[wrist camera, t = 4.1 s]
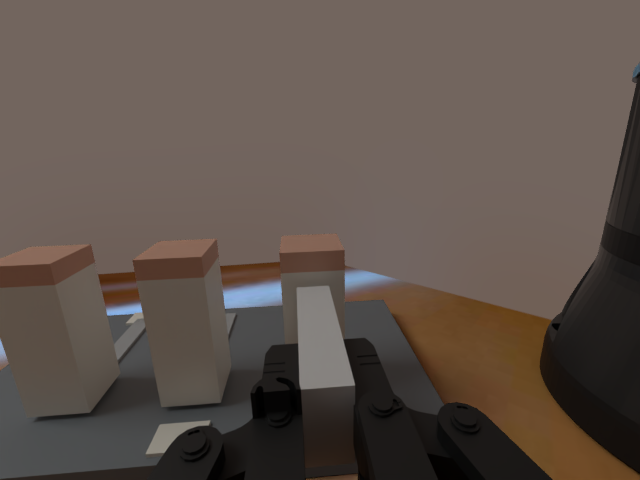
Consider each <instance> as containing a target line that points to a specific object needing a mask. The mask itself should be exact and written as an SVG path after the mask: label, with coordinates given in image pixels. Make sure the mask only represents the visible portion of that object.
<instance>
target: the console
mask: <svg viewBox="0 0 640 480" xmlns="http://www.w3.org/2000/svg"><path fill="white" fill-rule="evenodd" d="M225 314H226V323H227V331H228V340H229V349H230V357H231V369H230V372H229V376H228V379H227V383H226V386H225V390H224V393H223V397H222V400H221V403H211V404H198V405H185V406H172V407H161V404H160V398H159V393H158V388H157V383H156V378H155V373H154V368H153V363H152V358H151V352H150V347H149V342H148V337H147V332H146V327H145V322H144V317H143V313H135V314H129V315H112V316H107V317H108V321H109V326H110V330H111V334H112V339H113V343H114V347H115V352H116V356H117V360H118V365H119V369H120V374H119V376H118V377H117V378H116V380H115V381H114V382H113V383H112V385H111V386H110V387H109V389H108V390H107V391H106V393H105V394H104V395H103V396H102V398H101V399H100V400H99V402H98V403H97V404H96V406H95V407H94V408H93V409H92V411H91V412H90V413H80V414H67V415H54V416H41V417H28V418H27V415H26V412H25V409H24V406H23V403H22V401H21V398H20V395H19V392H18V389H17V386H16V383H15V380H14V377H13V374H12V371H11V368H10V365H7V366H6V367H5V368H3V369H2V370H1V371H0V480H147V478H148V477H149V475H150V474H151V472H152V471H153V469H154V468H155V466H156V465H157V463H158V462H159V460H160V459H161V457H162V456H163V454H164V453H165V451H166V450H167V449H168V447H169V446H170V444H171V443H172V442H173V441H174V440H175V439H176V438H177V436H179V435H180V434H182V433H183V432H185V431H186V430H188V429H191V428H194V427H197V426H207V425H208V426H211V427H214V428H217V429H218V430H219V431H220V433H221V434H224V433H227V432H230V431H233V430H235V429H237V428H240V427H242V426H243V425H245V424H246V423H247V422H249V421H250V420H251V419H252V418H253V416H252V406H251V396H250V393H251V390H252V388H253V386H254V385H255V384H256V383H257V382H258V381H259V380H261V379H262V375H263V367H264V360H265V354H266V352H267V351H268V350H269V348H270V347H271V346H272V345H281V344H285V334H284V318H283V306H268V307H250V308H233V309H225ZM353 338H366V339H367V340H368V341H370V342H371V343H372V344H373V345H374V347H375V349H376V352H377V354H378V357H379V359H380V362H381V364H382V367H383V369H384V371H385V374H386V376H387V379H388V381H389V384H390V386H391V388H392V391H393V393H394V394H395V395H396V396H398V397H399V398H401V399H402V401H403V402H404V404H405V405H406V407H408V408H410V409H413V410H415V411H419V412H423V413H429V414H435V415H438V412H439V410H440V408H441V407H442V406H444V404H443V402H442V400H441V398H440V397H439V395H438V393H437V392H436V390H435V388H434V386H433V385H432V383H431V381H430V380H429V378H428V376H427V374H426V373H425V371H424V369H423V367H422V366H421V364H420V362H419V361H418V359H417V357H416V355H415V354H414V352H413V350H412V349H411V347H410V345H409V343H408V342H407V340H406V338H405V337H404V335H403V333H402V331H401V330H400V328H399V326H398V325H397V323H396V321H395V319H394V318H393V316H392V314H391V312H390V311H389V309H388V307H387V306H386V304H385V302H384V300H371V301H354V302H345V339H353ZM353 473H358V465H357V460H356V455H355V463H351V464H340V465H330V466H320V467H310V468H305V478H310V477H321V476H332V475H343V474H353Z"/></svg>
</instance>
